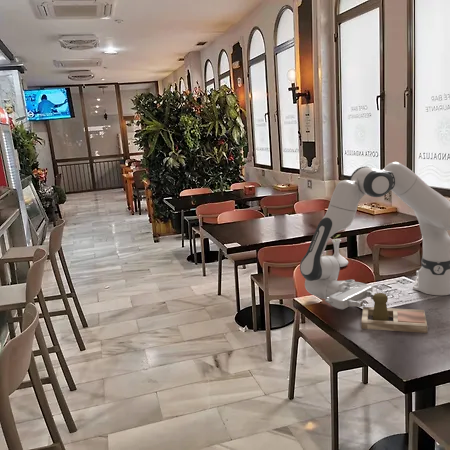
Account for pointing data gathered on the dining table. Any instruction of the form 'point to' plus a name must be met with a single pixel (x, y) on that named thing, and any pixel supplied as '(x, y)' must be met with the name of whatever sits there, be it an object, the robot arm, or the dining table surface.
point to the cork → (380, 307)
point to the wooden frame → (396, 320)
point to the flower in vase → (340, 258)
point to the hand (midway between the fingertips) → (368, 300)
